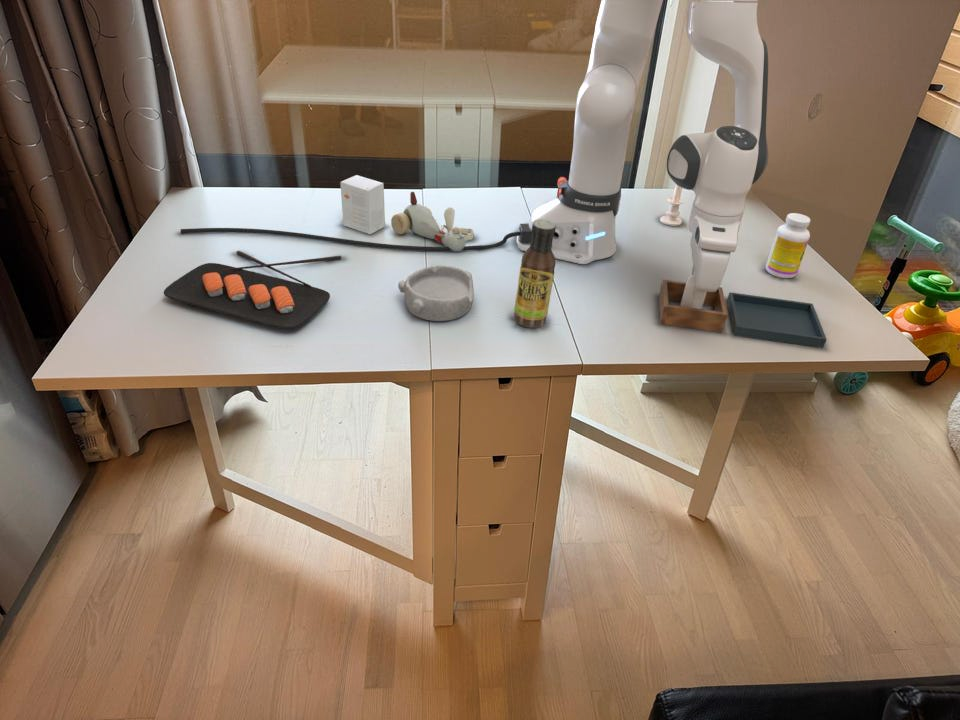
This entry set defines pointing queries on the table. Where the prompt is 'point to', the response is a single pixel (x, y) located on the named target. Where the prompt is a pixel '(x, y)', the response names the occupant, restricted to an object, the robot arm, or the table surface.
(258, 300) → the sushi plate
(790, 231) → the supplement bottle
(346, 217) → the small box
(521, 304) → the sauce bottle
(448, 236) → the toy dog
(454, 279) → the dish
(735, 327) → the tray
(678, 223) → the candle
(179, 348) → the table surface
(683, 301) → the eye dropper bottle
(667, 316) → the crate
